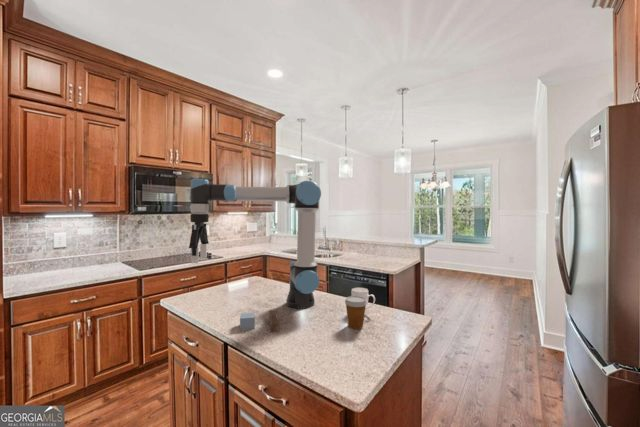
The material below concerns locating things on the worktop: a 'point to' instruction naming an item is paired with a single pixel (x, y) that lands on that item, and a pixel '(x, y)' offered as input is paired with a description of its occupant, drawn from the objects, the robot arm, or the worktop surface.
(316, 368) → the worktop surface
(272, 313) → the narrow bar
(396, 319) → the worktop surface
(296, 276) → the robot arm
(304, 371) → the worktop surface
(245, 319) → the block
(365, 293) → the mug
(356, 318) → the disposable coffee cup
